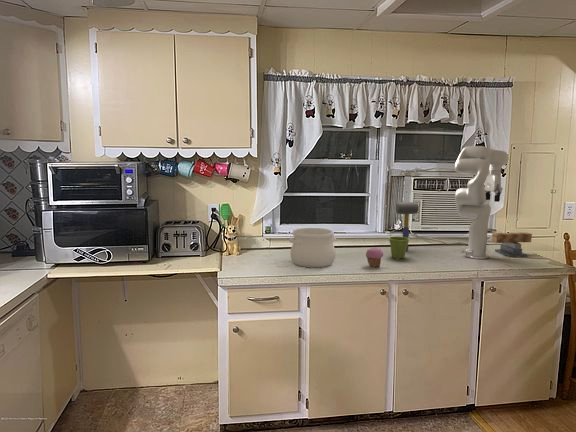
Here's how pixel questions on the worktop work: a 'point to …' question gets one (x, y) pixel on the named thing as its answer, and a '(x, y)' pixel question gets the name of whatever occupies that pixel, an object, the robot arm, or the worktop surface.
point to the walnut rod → (511, 237)
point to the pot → (313, 247)
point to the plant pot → (398, 246)
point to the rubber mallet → (406, 214)
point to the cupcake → (374, 256)
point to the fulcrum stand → (511, 250)
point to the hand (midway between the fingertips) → (492, 200)
